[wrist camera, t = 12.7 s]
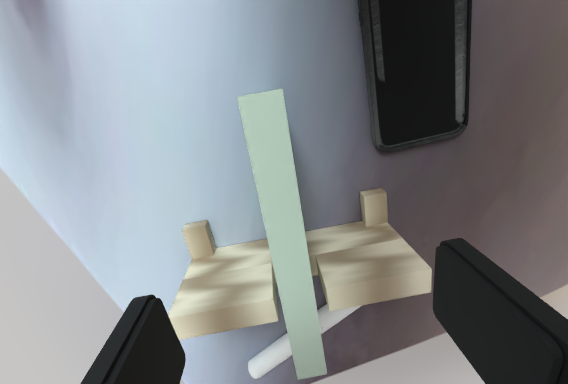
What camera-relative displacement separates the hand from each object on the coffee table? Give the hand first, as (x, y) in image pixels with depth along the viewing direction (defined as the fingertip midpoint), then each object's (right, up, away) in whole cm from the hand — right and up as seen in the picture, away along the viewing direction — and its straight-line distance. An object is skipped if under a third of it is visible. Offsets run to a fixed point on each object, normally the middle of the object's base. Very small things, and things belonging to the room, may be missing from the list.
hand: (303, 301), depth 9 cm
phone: (+9, +15, +12) cm, 21 cm away
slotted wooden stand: (0, -1, +17) cm, 17 cm away
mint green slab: (-1, +3, +15) cm, 15 cm away
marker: (+3, -10, +21) cm, 23 cm away
